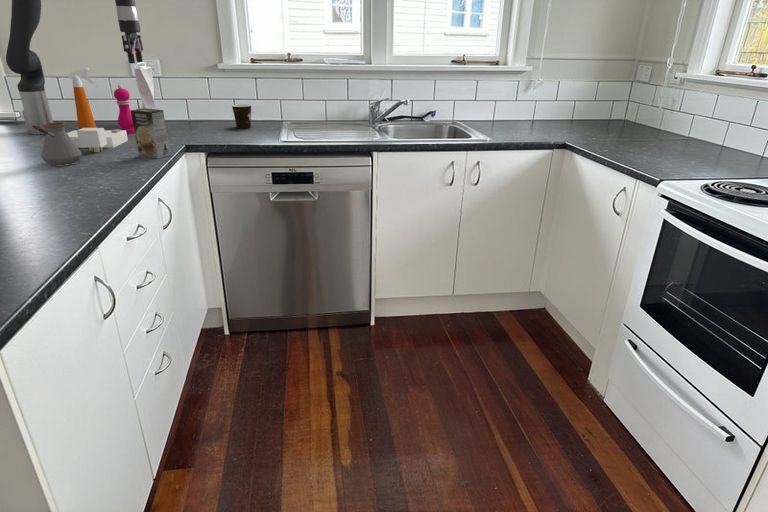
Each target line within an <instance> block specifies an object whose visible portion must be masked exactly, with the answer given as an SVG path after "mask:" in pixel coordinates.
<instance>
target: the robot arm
mask: <svg viewBox="0 0 768 512" xmlns="http://www.w3.org/2000/svg"><path fill="white" fill-rule="evenodd" d="M114 2H115V8H116V16H117V22H118V27H119V32H121V33H124V34H123V35H122V34H121V40H122V47H123V48H122V49H123V51H124V52H125V53H126V54H127V55H126V56H127V59H128V63H129V64H136V63H140V62H144V60H143V55H142V52H143V51H144V48H143V42H142V36H141V34H140V35H139V34H137V33H141V26H140V25H141V24H140V19H139V13H138V10H137V5H136V0H114ZM10 10H11V11H10V12H11V15H10V16H11V17H10V25H9V26H10V27H9V29H10V30H9V39H8V42H7V47H6V48H7V49H6V54H5V61H6V65H7V67H8V69H9V70H10V71H11V72H13V73H15V74H17V75H20V80H19V82H18V83H17V85H16V86H17V90H18V94H19V97H20V102H21V105H22V108H23V109H22V110H21V113H22V116H23V120H24V124H25V127H26V130H27V134H30V135H31V134H32V135H46V134H45V133H42V132H40V131H39V130H38V131H37V130H36V129H35V128H33V127H32V126H33V125H35V126H39V127H40V128H43V129H45V128H44V127H43V126H42V125H43V124H49V123H54V119H53V116H52V111H51V109H50V105H49V100H48V97H47V93H46V90H45V89H46V88H45V83H46V81H45V75H44V71H43V66H42V62H41V59H40V56H38V54H37V53H36V52H34V51H33V50H31V41H32V38H33V36H34V34H35V33H36V32H35V31H36V30H37V28H38V26H39V25H40V21H41V16H42V15H41V13H42V1H41V0H11V9H10ZM134 52H135V53H134ZM30 127H31V128H30ZM30 130H31V131H32V132H31V131H30ZM36 131H37V132H36Z"/></svg>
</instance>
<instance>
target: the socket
mask: <svg viewBox="0 0 768 512" xmlns="http://www.w3.org/2000/svg"><path fill="white" fill-rule="evenodd" d="M77 130H78V129H77ZM77 130H71V131H69V132H66V133H67V134H68V135H69V137H70V138H71V139H72V141H73V142H74V143H75V145H76V146H77V147H78V149H79V148H81V149H89V147H81V146H80V142H79V141H74V140H73V137H78V134H77ZM104 131H105V136H106V140H107V145H105V146H102V149H105V148H107V149H108V148H109V149H110V148H111V149H112V148H113V149H114V148H116V147H118V146H120V145H122V144H123V143H124V144H125V143H127V142H128V141H129V139H128V138H129V137H128V134H127V133H126V130H121V128H120V129H118V128H115V129H112V130H110V129H109V130H106V129H104Z"/></svg>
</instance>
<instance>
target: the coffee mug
mask: <svg viewBox="0 0 768 512" xmlns="http://www.w3.org/2000/svg"><path fill="white" fill-rule="evenodd" d="M231 108H232V112H233V117H234V121H235V126H236V128H237V129H239V130H240V129H241V130H242V129H243V130H245V129H251V127H252V104H245V103H242V104H241V103H240V104H232V105H231Z"/></svg>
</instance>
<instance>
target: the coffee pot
mask: <svg viewBox="0 0 768 512" xmlns="http://www.w3.org/2000/svg"><path fill="white" fill-rule="evenodd" d="M66 125H67V124H66V123H65V122H53V123H49V124H43V125H42V126H43V127H44V128H45V129H43V128H40V127H39V126H35V125H33V126H32V127H33V128H35V129H36V130H37V131H38V130H39V131H40V132H42V133H45V134H44V135H45V137H44V143H43V148H42V153H41V156H40V157H41V159H42V160H43V161H44V162H45V163H47V164H51V165H50V166H52V165H65V164H72V163H75V162H77V163H78V161H79V160H80V159H81V158H82V152H81V150H80V149H79V148H78V147H77V146H76V145H75V143H74V142H73V141H72V139H71V138H70V137H69V135H68V134H67V133H68V132H67V131H66V130H65V129H66V128H65V126H66ZM30 128H31V127H30ZM30 131H31V130H30ZM37 131H36V132H37ZM31 132H32V131H31ZM75 164H76V163H75ZM72 165H73V164H72Z"/></svg>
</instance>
